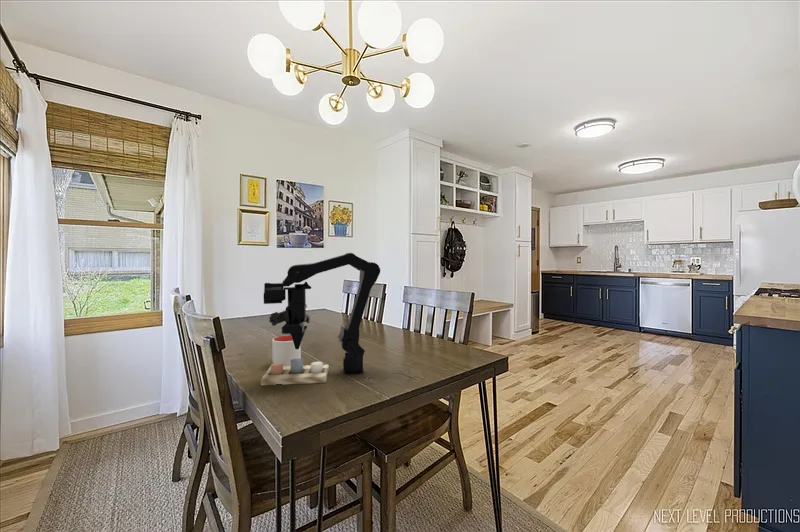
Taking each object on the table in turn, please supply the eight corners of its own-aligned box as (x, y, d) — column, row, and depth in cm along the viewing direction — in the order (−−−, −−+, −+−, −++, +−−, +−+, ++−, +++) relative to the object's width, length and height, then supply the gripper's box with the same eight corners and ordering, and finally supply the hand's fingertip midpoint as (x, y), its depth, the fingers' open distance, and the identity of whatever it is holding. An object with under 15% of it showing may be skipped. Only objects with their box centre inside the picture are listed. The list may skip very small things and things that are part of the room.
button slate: (303, 369, 117) (303, 358, 117) (302, 373, 113) (302, 361, 113) (291, 370, 117) (291, 358, 116) (289, 374, 113) (289, 362, 113)
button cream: (323, 372, 118) (323, 361, 118) (322, 377, 114) (322, 365, 114) (311, 373, 118) (311, 361, 117) (309, 377, 114) (309, 365, 113)
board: (328, 370, 122) (328, 364, 122) (325, 382, 110) (325, 376, 110) (270, 372, 120) (270, 366, 120) (261, 385, 108) (260, 379, 108)
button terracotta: (284, 374, 116) (284, 362, 116) (281, 378, 112) (281, 366, 112) (272, 374, 116) (272, 363, 116) (269, 379, 112) (269, 367, 112)
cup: (292, 370, 122) (292, 342, 122) (267, 368, 124) (266, 340, 124) (305, 361, 132) (305, 335, 132) (281, 359, 134) (281, 334, 134)
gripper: (278, 299, 122) (278, 342, 123) (264, 307, 104) (264, 358, 104) (309, 298, 124) (310, 341, 124) (301, 306, 105) (302, 356, 106)
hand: (297, 348), depth 115 cm, fingers closed
